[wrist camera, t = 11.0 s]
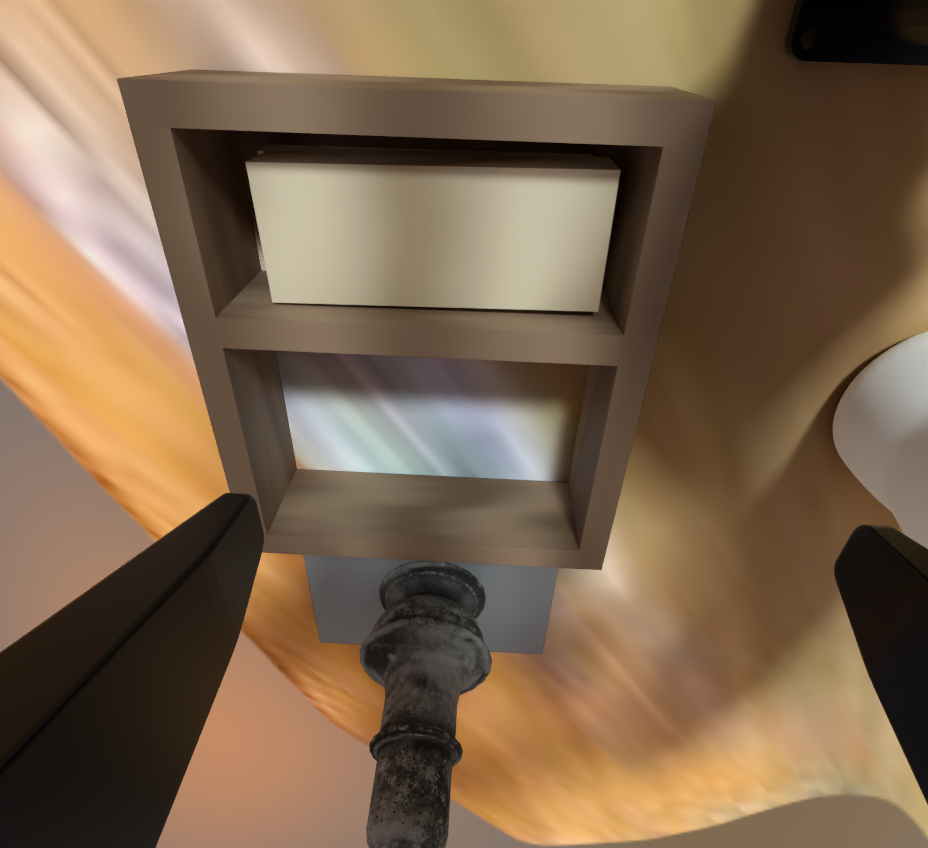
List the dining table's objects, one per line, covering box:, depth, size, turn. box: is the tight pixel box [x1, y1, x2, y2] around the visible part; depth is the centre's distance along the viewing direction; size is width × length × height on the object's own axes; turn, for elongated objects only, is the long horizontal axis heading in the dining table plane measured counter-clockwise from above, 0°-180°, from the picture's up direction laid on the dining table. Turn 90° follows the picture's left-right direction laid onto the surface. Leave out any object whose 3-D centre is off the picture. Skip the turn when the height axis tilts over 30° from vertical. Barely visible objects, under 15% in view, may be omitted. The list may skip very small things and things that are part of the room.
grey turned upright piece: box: [360, 561, 492, 848], centre depth 23 cm, size 6×6×12 cm
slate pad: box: [303, 554, 558, 654], centre depth 29 cm, size 12×8×1 cm
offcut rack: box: [117, 70, 716, 570], centre depth 19 cm, size 14×16×4 cm
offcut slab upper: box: [245, 150, 621, 312], centre depth 17 cm, size 10×4×2 cm, turn 89°
